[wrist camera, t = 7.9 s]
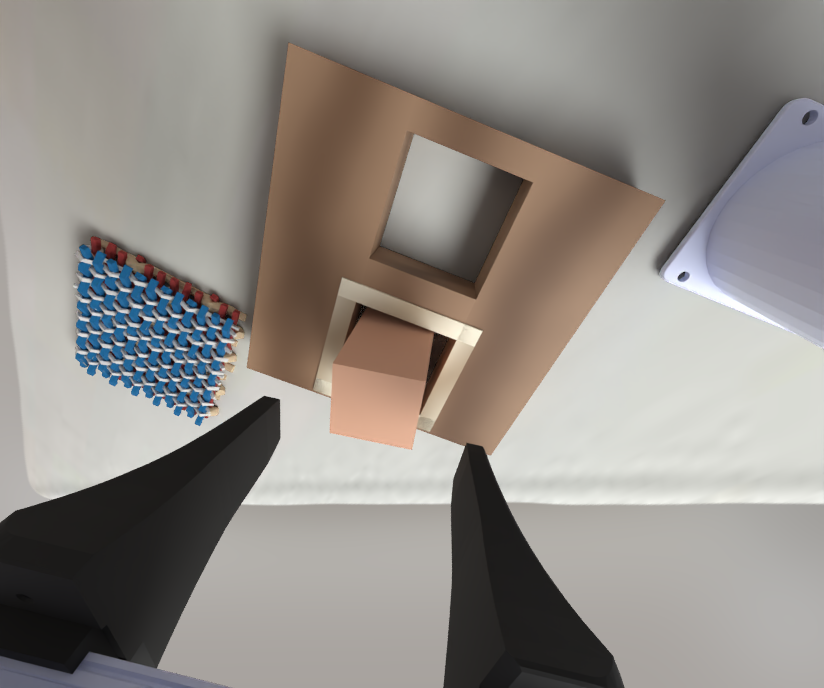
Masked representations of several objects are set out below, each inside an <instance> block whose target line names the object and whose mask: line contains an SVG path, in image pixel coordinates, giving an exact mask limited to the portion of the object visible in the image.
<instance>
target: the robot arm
mask: <svg viewBox="0 0 824 688" xmlns="http://www.w3.org/2000/svg"><path fill="white" fill-rule="evenodd" d="M807 112H809V113H810V117H809V119H808V121H807V122H806V123H805V124H804V125H803V124H802V118H803V117H804V115H805V114H806V113H807ZM682 272H685V275H684V277H683V278H681V279H678V278H677V277H678V275H679V274H680V273H682ZM660 276H661V278H662V279H663V280H665V281H666V282H669V283H671V284H673V285H676V286H678V287H681V288H683V289H686V290H688V291H691V292H693V293H696V294H698V295H701V296H703V297H706V298H708V299H711V300H713V301H716V302H718V303H720V304H723V305H725V306H728V307H730V308H733V309H735V310H738V311H740V312H743V313H745V314H748V315H750V316H753V317H755V318H758V319H760V320H763V321H765V322H767V323H770V324H772V325H775V326H777V327H780V328H782V329H785V330H787V331H790V332H792V333H795V334H797V335H799V336H801V337H802V338H804V339H806V340H808V341H810V342H811V343H813V344H815V345H817V346H819V347H820V348H822V349H824V105H823V104H820V103H818V102H816V101H814V100H811V99H809V98H799V99H795V100H792V101H790V102H788V103H787V104H785V105H784V106H783V107H782V109H781V110H780V111H779V112H778V114H777V115H776V116H775V118H774V119H773V120H772V122H771V123H770V124H769V126H768V127H767V128H766V130H765V131H764V132H763V134H762V135H761V136H760V138H759V139H758V140H757V142H756V143H755V144H754V146H753V147H752V148H751V150H750V151H749V152H748V154H747V155H746V156H745V158H744V159H743V160H742V162H741V163H740V164H739V166H738V167H737V168H736V170H735V171H734V172H733V174H732V175H731V176H730V178H729V179H728V180H727V182H726V183H725V184H724V186H723V187H722V188H721V190H720V191H719V192H718V194H717V195H716V196H715V198H714V199H713V200H712V202H711V203H710V204H709V206H708V207H707V208H706V210H705V211H704V212H703V214H702V215H701V216H700V218H699V219H698V220H697V222H696V223H695V224H694V226H693V227H692V228H691V230H690V231H689V232H688V234H687V235H686V236H685V238H684V239H683V240H682V242H681V243H680V244H679V246H678V247H677V248H676V249H675V251H674V252H673V253H672V255H671V256H670V257H669V259H668V260H667V261H666V263H665V264H664V265H663V267H662V268H661V270H660ZM279 440H280V399H276V398H271V397H267V396H263V397H262V398H260V399H259V400H257V401H256V402H254V403H253V404H251V405H250V406H248V407H246V408H245V409H243V410H242V411H240V412H239V413H237V414H236V415H234V416H233V417H231V418H230V419H228V420H227V421H225V422H223V423H222V424H220V425H219V426H217V427H216V428H214V429H212V430H211V431H209V432H207V433H206V434H204V435H202V436H200V437H199V438H197V439H195V440H194V441H192V442H190V443H188V444H187V445H185V446H183V447H181V448H179V449H177V450H175V451H173V452H172V453H170V454H168V455H165V456H163V457H161V458H159V459H157V460H155V461H153V462H151V463H149V464H146V465H144V466H142V467H139V468H137V469H135V470H132V471H130V472H128V473H125V474H123V475H121V476H118V477H116V478H113V479H111V480H108V481H105V482H103V483H100V484H98V485H95V486H92V487H89V488H86V489H84V490H81V491H78V492H75V493H72V494H69V495H66V496H63V497H60V498H57V499H53V500H50V501H47V502H43V503H40V504H37V505H34V506H30V507H27V508H24V509H20V510H17V511H15V512H13V513H12V514H11V515H9V516H8V517H7V518H6V519H4V520H3V521H2V522H1V523H0V688H231V687H228V686H223V685H220V684H216V683H212V682H207V681H204V680H200V679H196V678H192V677H187V676H183V675H180V674H176V673H172V672H168V671H164V670H160V669H157V666H158V664H159V662H160V660H161V657H162V655H163V653H164V651H165V649H166V646H167V644H168V642H169V640H170V637H171V636H172V633H173V631H174V629H175V627H176V625H177V623H178V620H179V618H180V616H181V614H182V612H183V610H184V608H185V606H186V604H187V602H188V600H189V598H190V595H191V594H192V592H193V590H194V588H195V585H196V583H197V582H198V580H199V578H200V576H201V574H202V572H203V570H204V568H205V566H206V564H207V562H208V560H209V558H210V556H211V554H212V553H213V551H214V549H215V547H216V545H217V543H218V541H219V540H220V538H221V536H222V534H223V532H224V530H225V528H226V527H227V525H228V524H229V522H230V520H231V519H232V517H233V515H234V514H235V512H236V511H237V509H238V508H239V506H240V505H241V503H242V502H243V500H244V499H245V497H246V496H247V494H248V493H249V491H250V490H251V488H252V487H253V485H254V484H255V482H256V481H257V479H258V478H259V476H260V475H261V473H262V472H263V470H264V469H265V467H266V465H267V464H268V462H269V460H270V458H271V456H272V454H273V453H274V451H275V448H276V446H277V444H278V442H279ZM451 531H452V589H451V605H450V618H449V631H448V644H447V654H446V665H445V676H444V687H443V688H624V685H623V682H622V679H621V676H620V673H619V670H618V668H617V665H616V663H615V660H614V657H613V655H612V654H611V653H610V652H609V651H608V650H607V648H606V647H605V646H604V645H603V644H602V643H601V641H600V640H599V639H598V638H597V637H596V636H595V635H594V633H593V632H592V631H591V630H590V629H589V628H588V626H587V625H586V624H585V623H584V622H583V621H582V620H581V618H580V617H579V616H578V614H577V613H576V612H575V611H574V609H573V608H572V607H571V605H570V604H569V603H568V602H567V600H566V599H565V598H564V596H563V595H562V593H561V592H560V591H559V589H558V588H557V586H556V585H555V584H554V582H553V581H552V579H551V578H550V577H549V575H548V574H547V573H546V571H545V570H544V568H543V567H542V565H541V563H540V562H539V560H538V559H537V557H536V556H535V554H534V553H533V551H532V549H531V548H530V546H529V544H528V543H527V541H526V539H525V537H524V536H523V534H522V532H521V530H520V528H519V527H518V525H517V523H516V521H515V519H514V517H513V515H512V513H511V511H510V509H509V507H508V505H507V503H506V501H505V499H504V496H503V494H502V492H501V490H500V488H499V485H498V483H497V481H496V478H495V476H494V473H493V471H492V468H491V466H490V463H489V460H488V457H487V455H486V452H485V449H484V447H483V446H479V445H475V444H471V443H466V446H465V449H464V451H463V454H462V457H461V460H460V462H459V465H458V468H457V471H456V473H455V476H454V479H453V489H452V501H451Z"/></svg>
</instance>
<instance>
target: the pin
mask: <svg viewBox="0 0 824 688" xmlns="http://www.w3.org/2000/svg"><path fill="white" fill-rule="evenodd" d="M433 335H434V331H431V330H429V329H426V328H423V327H421V326H418V325H415V324H413V323H410V322H407V321H405V320H402V319H400V318H397V317H394V316H392V315H389V314H386V313H384V312H381V311H378V310H376V309H373V308H370V307H368V306H367V308H366V310H365V311H364V313H363V314H362V316H361V318H360V319H359V321H358V323H357V324H356V326H355V328H354V329H353V331H352V333H351V334H350V336H349V337H348V339H347V341H346V342H345V344H344V346H343V347H342V349H341V351H340V352H339V354H338V355H337V357H336V359H335V360H334V362H333V366H332V390H331V414H330V433H333V434H338V435H343V436H348V437H353V438H357V439H362V440H367V441H372V442H377V443H382V444H387V445H391V446H396V447H401V448H406V449H411V450H412V447H413V442H414V437H415V432H416V428H417V423H418V418H419V413H420V408H421V404H422V399H423V394H424V389H425V384H426V379H427V373H428V366H429V360H430V354H431V348H432V341H433Z"/></svg>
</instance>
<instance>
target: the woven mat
mask: <svg viewBox="0 0 824 688" xmlns="http://www.w3.org/2000/svg"><path fill="white" fill-rule="evenodd" d="M90 241H91V245H84V244H83V245H81V246H80V247H79V249H80V251H81V254H82V255H81V254H80V253H79V252H78V251H76V252H75V253H74V254H75V255H76V257H77V258H78V259H79V261H80V262H78V270H79V271H80V272H81V273H82V274H83V276H82V274H81V273H80V272H79V273H75V274H76V275H77V276H78V277H79V281H81V282H80V284H76V283H74V288H78V289H77V290H78V292H79V293H80V294H81V295H82V296H81V295H80V294H79V293H77V294H75V295H76V296H77V298H78V299H79V301H78V300H77V308H78V309H79V310H80V311H81V312H82V314H80V313H79V312H78V311H76V315H77V316H78V318H79V320H77V319H76V327H77V329H76V334H77V335H79V336H78V338H77V340H76V343H77V345H78V346H79V347H80V348H79V347H78V346H76V347H75V349H76V352H75V355H76V358H75V359H77V360H78V361H79V362H80V366H82V367H84V368H85V367H88V365H89V367H88V369H87V374H89V375H92V376H93V375H94V374H95V373H96V371H95V370H96V368H97V366H98V365H99V366H98V369H99V370H100V371H101V372H102V376H103V377H105V378H108V377H110V374H112V376H111V378H110V380H109V384H111V385H113V386H115V385H116V384H117V380H118V379H119V380H121V381H123V382H124V383H125V384H124V387H126V388H131V387H132V386H134V387H133V389H132V391H131V394H132V395H134V396H137V395H138V394H139V390H140V388H141V387H142V388H143V391H144V392H145V393H146V396H145V397H148V398H152V397H153V396H154V395H156V396H155V398H154V400H153V405H156V406H159V404H160V401H161V399H162V398H163V399H165V402H166V403H167V407H169V408H172V407H173V406H174V405H177V406H176V408H175V410H174V414H175V415H177V416H179V415H180V414H181V410H186V411H187V412H188V414H187V416H188V417H190V418H192V417H194V415H196V414H198V417H197V419H196V421H195V424H196V425H199V426H200V425H201V423H202V420H203V418H204V417H205V418H208V417H209V416H215V415H218V414H219V408H218V407H216V406H215V407H214V403H213V400H219V399H220V395H225V388H224V386H223V385H222V384H221V382H220V381H219V380H225V379H226V375H225V374H224V371H223V370H225V369H226V370H228V371H230V372H233V370H234V367H235V366H234V365H232V364H230V363H229V362H235V361H236V358H237V355H236V354H235V353H233V352H232V348H231V345H232V346H234V347H236V346H237V343H238V341H237V340H235V339H242V338H244V331H243V330H242V328H241V327H240V326H238V325H237V322H238V319H239V320H241V321H244V322H245V319H246V316H247V315H246V314H244V313H242V312H241V311H239V310H237V309H235V308H234V307H232V306H230V305H228V304H225V303H221V302H219V301H220V300H219V297H218V296H217V295H215V294H212V295H211V296H210V295H209V294H206V293H204V292H202V291H200V290H198V289H197V288H195V287H193V286H192V283H188V282H186V283H185V282H183V281H181V280H179V279H177V278H176V277H174V276H172V275H170V274H168V273H166V272H164V271H162V270H160V269H158V268H156V267H155V266H153V265H151V264H146V260H145V258H144V257H142V256H140V255H138V256H137V257H136V256H134V255H131V254H129V253H127V252H125V251H124V250H122V249H120V248H118V247H117V245H115V244H113V243H111V242H107V241H104V240H102V239H100V238H98V237H96V236H95V237H94V236H92V237H91V239H90ZM103 248H104V249H106V250H105V254H104V249H103ZM90 250H91V251H90ZM116 256H118V262H116V261H115V258H116ZM88 269H89V270H88ZM153 276H154V277H157V280H155V279H152V278H153ZM165 282H167V283H169V284H170V286H169V287H166V286H165ZM190 295H192V296H194V301H193V300H191V299H189V298H190ZM201 304H202V306H201ZM226 314H227V315H229V316H232V317H231V319H230V318H227V320H226V319H225V316H226ZM100 320H101V321H100ZM183 325H184V326H183ZM78 328H79V329H80V330H81V331H80V330H79V329H78ZM221 330H222V332H221ZM207 337H208V339H207ZM233 337H234V338H235V339H233ZM219 339H220V342H218V340H219ZM86 340H88V341H86ZM192 344H193V345H192ZM133 349H134V350H133ZM84 357H85V358H86V359H85V358H84ZM106 367H107V368H108V369H107V368H106ZM205 387H206V388H205ZM202 396H203V397H204V400H203V399H202ZM186 408H187V409H186Z"/></svg>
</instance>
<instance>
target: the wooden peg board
mask: <svg viewBox="0 0 824 688" xmlns="http://www.w3.org/2000/svg"><path fill="white" fill-rule="evenodd" d="M414 134H417V135H419V136H421V137H424V138H426V139H429V140H431V141H434V142H436V143H438V144H441V145H443V146H446V147H448V148H451V149H453V150H455V151H458V152H460V153H463V154H465V155H468V156H470V157H472V158H475V159H477V160H480V161H482V162H484V163H487V164H489V165H492V166H494V167H497V168H499V169H501V170H504V171H506V172H509V173H511V174H514V175H516V176H518V177H521V178H523V179H524V180H523V182H522V184H521V186H520V188H519V190H518V192H517V195H516V197H515V199H514V201H513V203H512V205H511V207H510V209H509V211H508V214H507V216H506V218H505V220H504V222H503V224H502V226H501V228H500V231H499V233H498V235H497V237H496V239H495V241H494V243H493V245H492V247H491V250H490V252H489V254H488V256H487V258H486V260H485V262H484V264H483V266H482V269H481V271H480V273H479V275H478V277H477V279H476V281H475V283H473V282H471V281H468V280H465V279H463V278H460V277H458V276H455V275H453V274H450V273H447V272H445V271H442V270H440V269H437V268H435V267H432V266H430V265H427V264H424V263H422V262H419V261H417V260H414V259H412V258H409V257H406V256H404V255H401V254H399V253H396V252H394V251H391V250H389V249H386V248H383V247H381V246H380V244H381V240H382V237H383V234H384V230H385V227H386V224H387V221H388V217H389V214H390V211H391V207H392V204H393V201H394V198H395V194H396V191H397V188H398V184H399V181H400V178H401V175H402V171H403V168H404V165H405V161H406V158H407V155H408V152H409V148H410V145H411V142H412V138H413V135H414ZM665 201H666V200H663V199H661V198H658V197H656V196H654V195H651V194H649V193H646V192H644V191H642V190H639V189H637V188H635V187H632V186H630V185H627V184H625V183H623V182H620V181H618V180H615V179H613V178H611V177H608V176H606V175H604V174H601V173H599V172H596V171H594V170H592V169H589V168H587V167H584V166H582V165H580V164H577V163H575V162H573V161H570V160H568V159H565V158H563V157H561V156H558V155H556V154H553V153H551V152H549V151H546V150H544V149H542V148H539V147H537V146H534V145H532V144H530V143H527V142H525V141H522V140H520V139H518V138H515V137H513V136H511V135H508V134H506V133H503V132H501V131H499V130H496V129H494V128H491V127H489V126H487V125H484V124H482V123H480V122H477V121H475V120H472V119H470V118H468V117H465V116H463V115H460V114H458V113H456V112H453V111H451V110H449V109H446V108H444V107H441V106H439V105H437V104H434V103H432V102H429V101H427V100H425V99H422V98H420V97H418V96H415V95H413V94H410V93H408V92H406V91H403V90H401V89H398V88H396V87H394V86H391V85H389V84H387V83H384V82H382V81H379V80H377V79H375V78H372V77H370V76H367V75H365V74H363V73H360V72H358V71H356V70H353V69H351V68H348V67H346V66H344V65H341V64H339V63H336V62H334V61H332V60H329V59H327V58H325V57H322V56H320V55H317V54H315V53H313V52H310V51H308V50H305V49H303V48H301V47H298V46H296V45H294V44H291V43H289V42H288V50H287V58H286V66H285V74H284V81H283V89H282V97H281V105H280V113H279V120H278V128H277V136H276V144H275V152H274V159H273V167H272V175H271V183H270V191H269V198H268V206H267V214H266V222H265V230H264V237H263V245H262V253H261V261H260V268H259V276H258V284H257V292H256V300H255V307H254V315H253V323H252V331H251V339H250V346H249V354H248V362H247V368H249V369H252V370H255V371H257V372H260V373H263V374H266V375H269V376H271V377H274V378H277V379H280V380H282V381H285V382H288V383H291V384H294V385H296V386H299V387H302V388H305V389H307V390H310V391H313V392H316V393H318V394H321V395H324V396H327V397H330V398H331V390H332V366H333V362H334V360H335V359H336V357H337V355H338V354H339V352H340V351H341V349H342V347H343V346H344V344H345V342H346V341H347V339H348V337H349V336H350V334H351V333H352V331H353V329H354V328H355V326H356V322H357V319H358V316H359V313H360V309H361V306H362V304H363V305H365V306H368V307H370V308H373V309H376V310H378V311H381V312H384V313H386V314H389V315H392V316H394V317H397V318H400V319H402V320H405V321H407V322H410V323H413V324H415V325H418V326H421V327H423V328H426V329H429V330H431V331H434V332H436V333H439V334H442V335H444V336H447V337H449V338H448V341H447V343H446V345H445V347H444V349H443V351H442V353H441V355H440V357H439V360H438V362H437V364H436V366H435V368H434V370H433V372H432V374H431V376H430V379H429V381H428V383H427V385H426V387H425V389H424V394H423V399H422V404H421V408H420V413H419V418H418V423H417V428H416V429H418V430H421V431H424V432H427V433H429V434H432V435H435V436H438V437H441V438H443V439H446V440H449V441H452V442H454V443H457V444H460V445H463V446H466V443H471V444H475V445H479V446H483V447H484V449H485V452H486V454H488V455H491V454H492V453H493V451H494V450H495V448H496V447H497V446H498V444H499V443H500V441H501V440H502V438H503V437H504V435H505V434H506V432H507V431H508V429H509V428H510V427H511V425H512V424H513V422H514V421H515V419H516V418H517V416H518V415H519V413H520V412H521V411H522V409H523V408H524V406H525V405H526V403H527V402H528V400H529V399H530V397H531V396H532V394H533V393H534V392H535V390H536V389H537V387H538V386H539V384H540V383H541V381H542V380H543V378H544V377H545V376H546V374H547V373H548V371H549V370H550V368H551V367H552V365H553V364H554V362H555V361H556V359H557V358H558V357H559V355H560V354H561V352H562V351H563V349H564V348H565V346H566V345H567V343H568V342H569V341H570V339H571V338H572V336H573V335H574V333H575V332H576V330H577V329H578V327H579V326H580V324H581V323H582V322H583V320H584V319H585V317H586V316H587V314H588V313H589V311H590V310H591V308H592V307H593V306H594V304H595V303H596V301H597V300H598V298H599V297H600V295H601V294H602V292H603V291H604V289H605V288H606V287H607V285H608V284H609V282H610V281H611V279H612V278H613V276H614V275H615V273H616V272H617V271H618V269H619V268H620V266H621V265H622V263H623V262H624V260H625V259H626V257H627V256H628V254H629V253H630V252H631V250H632V249H633V247H634V246H635V244H636V243H637V241H638V240H639V238H640V237H641V236H642V234H643V233H644V231H645V230H646V228H647V227H648V225H649V224H650V222H651V221H652V219H653V218H654V217H655V215H656V214H657V212H658V211H659V209H660V208H661V206H662V205H663V203H664V202H665Z"/></svg>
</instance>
